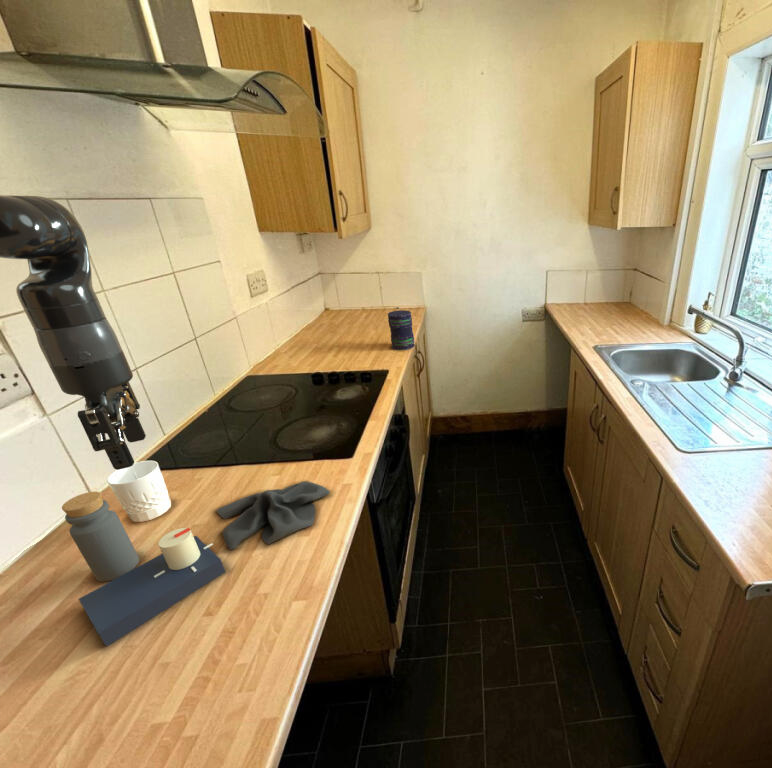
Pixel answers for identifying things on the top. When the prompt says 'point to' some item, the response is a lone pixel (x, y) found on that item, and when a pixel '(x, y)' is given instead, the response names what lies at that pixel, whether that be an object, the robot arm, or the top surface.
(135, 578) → the panel
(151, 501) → the white cup
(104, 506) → the bottle
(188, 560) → the knob
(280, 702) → the top surface
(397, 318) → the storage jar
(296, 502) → the cloth
